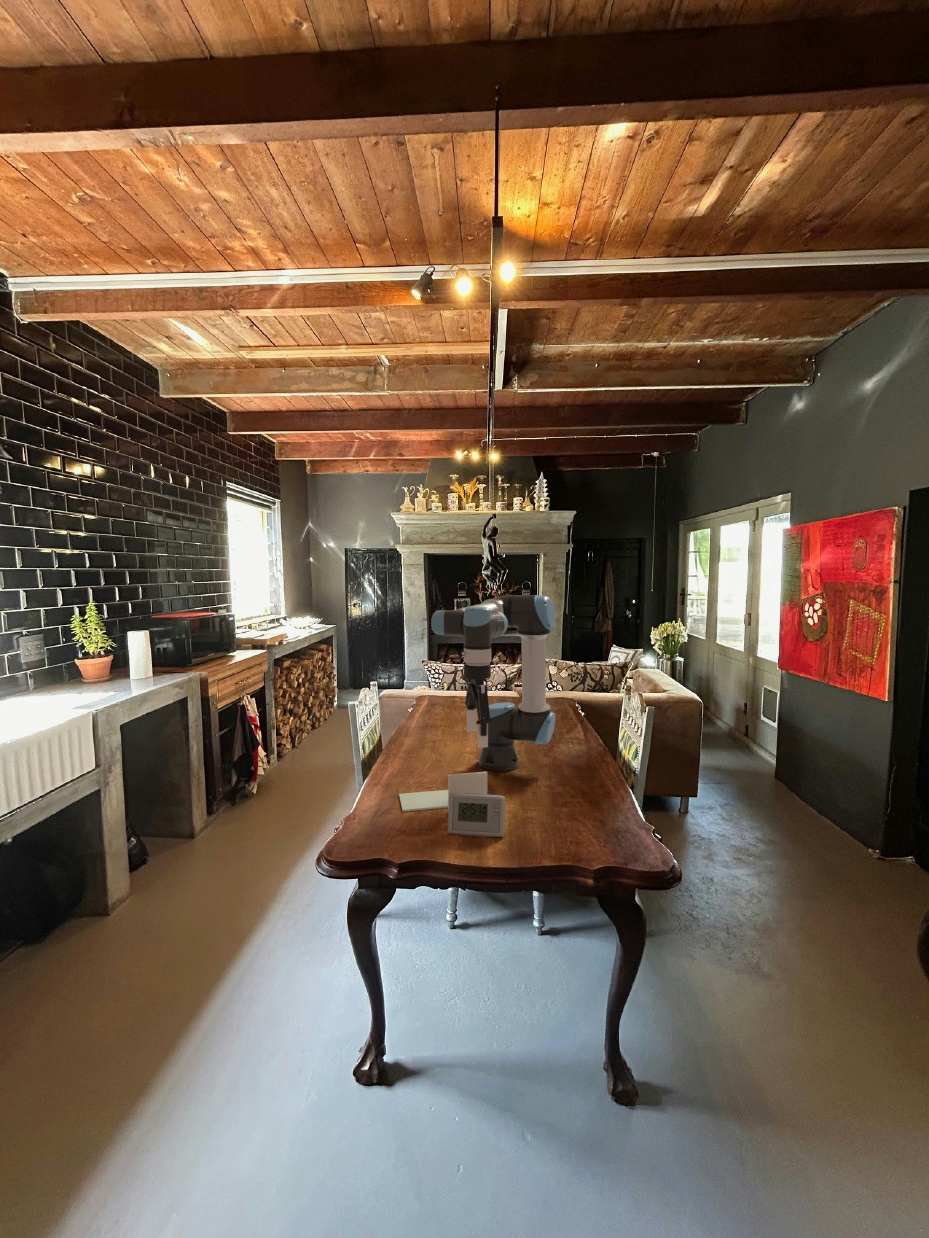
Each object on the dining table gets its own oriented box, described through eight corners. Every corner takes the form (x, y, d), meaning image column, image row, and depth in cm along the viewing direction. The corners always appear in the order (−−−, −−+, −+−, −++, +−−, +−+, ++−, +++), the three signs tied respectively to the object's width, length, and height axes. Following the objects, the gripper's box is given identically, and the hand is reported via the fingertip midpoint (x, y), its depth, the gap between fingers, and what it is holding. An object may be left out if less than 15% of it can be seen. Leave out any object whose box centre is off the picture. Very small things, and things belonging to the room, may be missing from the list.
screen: (485, 807, 166) (485, 770, 165) (488, 812, 163) (488, 774, 162) (447, 810, 164) (447, 772, 163) (449, 816, 160) (449, 777, 159)
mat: (456, 790, 179) (456, 789, 179) (463, 806, 167) (463, 804, 167) (399, 795, 175) (399, 793, 175) (402, 811, 163) (402, 809, 163)
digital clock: (444, 835, 149) (444, 798, 148) (455, 820, 158) (455, 785, 157) (500, 844, 144) (501, 806, 143) (508, 829, 153) (509, 793, 152)
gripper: (455, 656, 158) (455, 726, 160) (473, 672, 134) (473, 754, 135) (480, 656, 159) (479, 725, 161) (502, 671, 135) (501, 753, 137)
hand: (476, 739), depth 148 cm, fingers open, 13 cm apart
